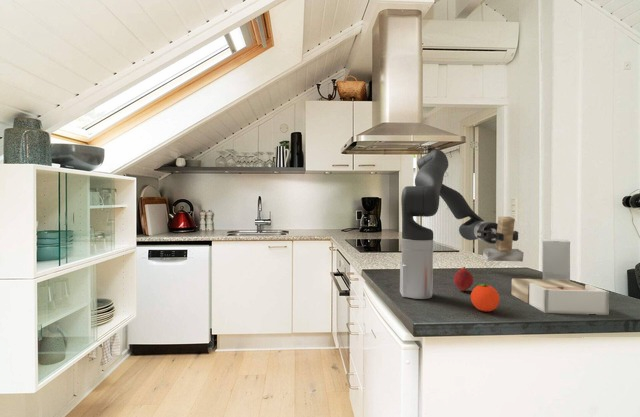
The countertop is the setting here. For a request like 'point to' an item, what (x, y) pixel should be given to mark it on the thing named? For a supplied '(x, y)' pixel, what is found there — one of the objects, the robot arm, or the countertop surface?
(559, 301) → the box
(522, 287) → the tan wooden block
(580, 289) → the tile right
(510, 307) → the countertop surface
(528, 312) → the countertop surface
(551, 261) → the skincare box
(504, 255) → the scraper
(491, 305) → the clementine
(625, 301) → the countertop surface
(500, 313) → the countertop surface
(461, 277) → the onion
